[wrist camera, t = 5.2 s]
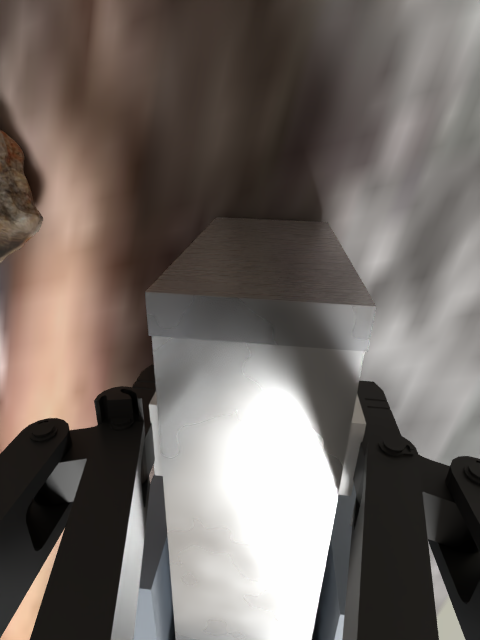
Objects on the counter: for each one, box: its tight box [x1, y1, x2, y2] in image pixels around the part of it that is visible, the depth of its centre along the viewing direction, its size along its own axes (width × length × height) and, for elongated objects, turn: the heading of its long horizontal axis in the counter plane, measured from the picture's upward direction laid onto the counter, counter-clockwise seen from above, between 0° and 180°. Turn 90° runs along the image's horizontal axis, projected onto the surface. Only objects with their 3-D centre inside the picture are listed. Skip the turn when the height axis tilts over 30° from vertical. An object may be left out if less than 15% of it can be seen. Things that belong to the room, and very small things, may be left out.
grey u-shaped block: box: [134, 473, 356, 640], centre depth 17 cm, size 8×11×11 cm
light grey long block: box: [145, 217, 376, 640], centre depth 15 cm, size 5×18×9 cm, turn 179°
